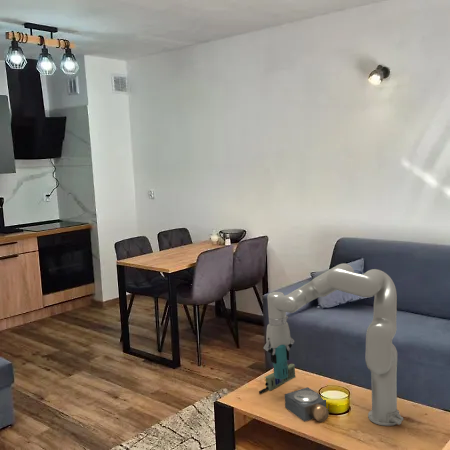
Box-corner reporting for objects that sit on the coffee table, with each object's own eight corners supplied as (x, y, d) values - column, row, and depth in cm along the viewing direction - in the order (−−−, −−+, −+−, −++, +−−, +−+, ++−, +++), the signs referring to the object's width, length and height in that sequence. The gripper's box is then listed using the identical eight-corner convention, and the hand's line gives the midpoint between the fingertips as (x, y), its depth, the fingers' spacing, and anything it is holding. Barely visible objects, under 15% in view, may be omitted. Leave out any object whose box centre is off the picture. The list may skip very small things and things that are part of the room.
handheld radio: (296, 377, 246) (262, 396, 229) (291, 376, 248) (257, 394, 231) (295, 364, 245) (261, 381, 228) (290, 363, 248) (256, 380, 230)
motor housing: (334, 417, 206) (334, 402, 205) (310, 425, 201) (310, 410, 200) (308, 400, 222) (307, 386, 221) (285, 407, 217) (284, 393, 216)
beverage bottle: (284, 383, 219) (280, 338, 217) (271, 380, 223) (267, 336, 221) (291, 377, 224) (288, 334, 222) (278, 375, 228) (275, 332, 226)
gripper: (289, 315, 228) (291, 354, 230) (256, 322, 220) (258, 363, 222) (299, 318, 221) (301, 359, 223) (265, 327, 213) (267, 368, 215)
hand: (280, 360), depth 223 cm, fingers closed on beverage bottle, 5 cm apart
